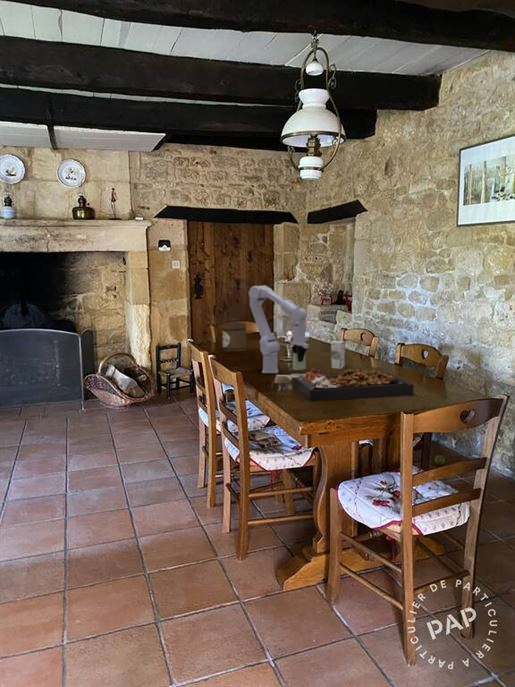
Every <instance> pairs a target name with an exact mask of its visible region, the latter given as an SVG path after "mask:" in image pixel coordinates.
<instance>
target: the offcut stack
mask: <svg viewBox="0 0 515 687" xmlns="http://www.w3.org/2000/svg"><path fill="white" fill-rule="evenodd" d="M275 378H276V380H275V379H274V384H291V383H290V382H291V380H289V378H287V376H276V375H275Z"/></svg>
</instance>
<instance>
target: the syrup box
mask: <svg viewBox="0 0 515 687" xmlns="http://www.w3.org/2000/svg"><path fill="white" fill-rule="evenodd" d="M345 348H346V342H345V340H335V339H334V340H332V341H331V342H330V368H331V369H337V370H338V369H339V370H341V369H344V368H345V353H346V349H345ZM343 367H344V368H343Z"/></svg>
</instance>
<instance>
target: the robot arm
mask: <svg viewBox="0 0 515 687" xmlns="http://www.w3.org/2000/svg"><path fill="white" fill-rule="evenodd" d="M248 297H249V307H250V309H251V313H252V315H253V318H254V322H255V325H256V327H257V330H258V332H259V335H260V337H261V338H260V340H259V346H260V349H259V350H260V353H262V358H263V359H262V371H261V373H262V374H279V368H278V354H279V353H278V352H279V351H280V349H281V344H280V343H279V341H278V340H277V338H276V337H275V335H273V334H272V331H271V328H270V326H269V323H268V321H267V318H266V314H265V312H264V309H263V307H262V305H263V304H264V301H265V300H266V299H269V300H271V301H272V302H274V303H275V304H277V305H279V306H280V309H281V310H282V311H283V312H284V313H286V314H287V315H289V316H290V317H291V319H292V324H293V326H292V328H293V331H292V333H293V338H292V340H289V342H290V343H289V344H290V345H291V350H292V352H293V353H297V355H298V362H302V361H303V358H304V355H305V353H306V352H307V350H308V349H309V348H310V346H309V345H310V344H309V343H308V342H306V319H307V317H308V311H307V309H305V308H304V307H300V306H299V305H298V304H297V305H296V304H295V303H294V302H293V300H291V299H284V298H283V297H281V296H279V294H277V293H276V292H275V291H274V290H272V288H270V287H269V286H267V285H266V284H264V285H252V286H251V287H250V289H249V291H248Z"/></svg>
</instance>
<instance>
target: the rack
mask: <svg viewBox="0 0 515 687" xmlns="http://www.w3.org/2000/svg"><path fill="white" fill-rule="evenodd" d="M276 376H287V378H289V380H290V381H292V378H291V374H276V375H275V379H274V381H275V380H276Z"/></svg>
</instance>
